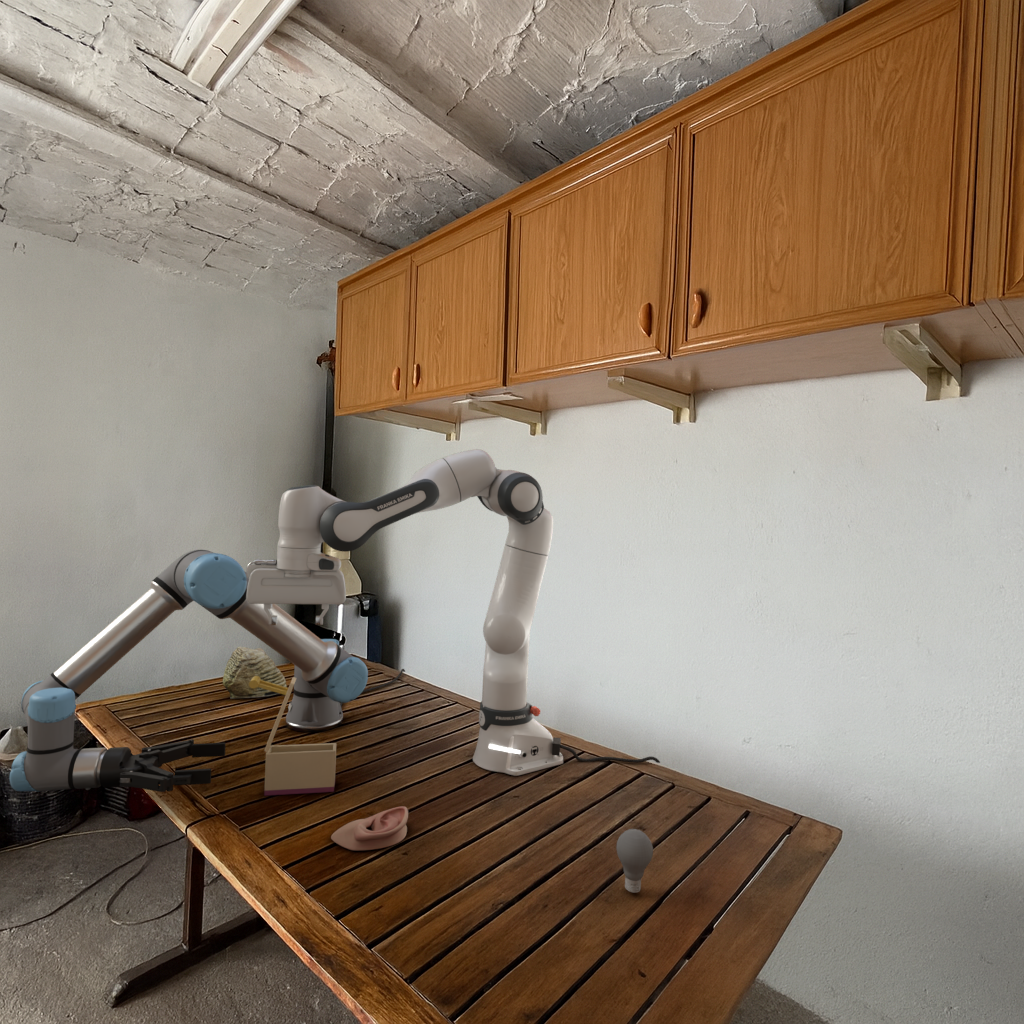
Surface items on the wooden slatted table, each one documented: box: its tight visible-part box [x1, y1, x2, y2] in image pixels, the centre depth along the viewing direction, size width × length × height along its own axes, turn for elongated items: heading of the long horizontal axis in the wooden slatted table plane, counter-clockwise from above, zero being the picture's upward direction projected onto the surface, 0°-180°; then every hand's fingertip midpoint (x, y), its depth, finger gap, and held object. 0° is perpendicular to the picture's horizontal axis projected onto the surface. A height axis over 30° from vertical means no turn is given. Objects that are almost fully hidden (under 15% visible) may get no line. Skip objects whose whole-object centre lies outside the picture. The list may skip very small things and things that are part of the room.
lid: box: [249, 676, 296, 753], centre depth 135 cm, size 15×4×9 cm
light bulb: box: [615, 828, 654, 894], centre depth 106 cm, size 6×6×10 cm
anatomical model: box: [330, 805, 409, 852], centre depth 119 cm, size 13×4×12 cm
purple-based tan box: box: [263, 742, 337, 797], centre depth 137 cm, size 14×5×9 cm, turn 103°
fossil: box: [222, 646, 288, 699], centre depth 198 cm, size 9×18×15 cm, turn 132°
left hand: (218, 762), depth 133 cm, fingers open, 13 cm apart
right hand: (296, 624), depth 136 cm, fingers open, 8 cm apart
